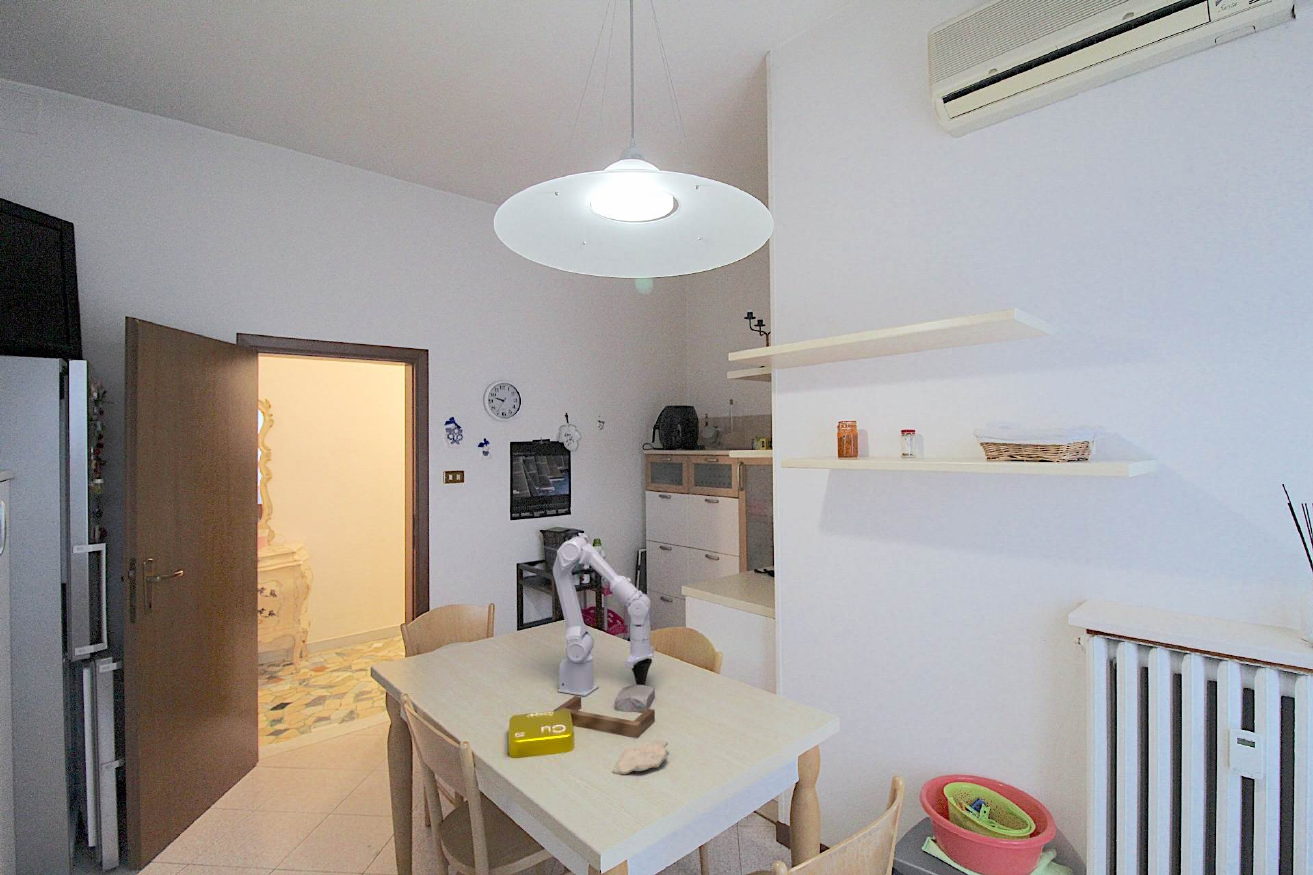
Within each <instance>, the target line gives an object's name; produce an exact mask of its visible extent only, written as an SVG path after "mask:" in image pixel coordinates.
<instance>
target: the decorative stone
mask: <svg viewBox="0 0 1313 875" xmlns="http://www.w3.org/2000/svg"><path fill="white" fill-rule="evenodd" d="M668 745H669V743H668V741H665V740H661V739H652V740H649V741H645V742H644V743H642V744H639V745H635V746H631V747H629V748H627V749H624V750H623V751H621V755H620V756H619V759H618V760H617V762H616V764H615V766H614V769H613V770H612V772H613V773H614V774H616V775H627V774H630V773H631V772H634V771H635V772H642V771H647V770H649V769H651V768H656V769H657V768H659V766H660V765H662V763H663V762H664V761H665V760H666V758H667V748H666V747H667V746H668Z"/></svg>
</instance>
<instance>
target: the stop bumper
mask: <svg viewBox="0 0 1313 875" xmlns="http://www.w3.org/2000/svg"><path fill="white" fill-rule="evenodd" d="M581 709H582V697H581V696H579V695H575V696H574V695H573V697H571V698H570V699H568V700H566V701H565V702H564V703H562V704H560V705H559V706H558V707H556V708H555V709H553V711H560V710H567V711H569V712H570V713H571V719H572V724H573V727H579V728H584V729H590V730H595V731H599V732H605V733H608V734H609V733H610V734H615V735H620V736H623V737H624V736H625V737H629V738H635V739H638V738H639V737H641V735H642V734H644V733H645V731H646V730H648V729H649V728H650V727H651V726H652V725H653V724H654V723H655V722H656V721H655V720H656V719H655V718H656V717H655V716H656V715H655V709H652V708H648V709H647V710H645V711H644V712H641V714H640V715H639V716H637V717H636V718H635V719H633V720H631V719H630V720H629V719H624V718H619V717H612V716H608V715H603V714H598V713H593V712H587V711H586V712H585V711H582V710H581Z"/></svg>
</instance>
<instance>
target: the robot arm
mask: <svg viewBox="0 0 1313 875" xmlns="http://www.w3.org/2000/svg"><path fill="white" fill-rule="evenodd" d="M577 563H578V564H581V565H588V566H590V567H591V568H593V570H595V571H596V572H597V573H598V575H600V576H601V577H602V578H603V579H604V580H605V581H606V582H607V583H608V584H609V591H610V592H611V593H612V594H613V595H614V596H615V598H617V599H618V600H619V601H620V603H622V604H623V605H624V606H625V607H627V613H628V615H629V617H630V618H629V619H630V622H629V641H630V642H629V644H630V646H629V647H630V648H629V649H630V650H629V651H630V653H629V654H628V658H627V660H625V668H626V669H630V670H631V671H632V673H633V676H634V680H635V683H636V684H635V685H644V686H646V682H647V677H648V673H649V670H650V667H651V665H652V663H653V659H652V658H654V656H655V646H653V645H651V622H650V612H649V611H650V608H651V600H650V598H649V597H648V594H645V593H643V592H642V590H639V589H637V587H636V586H635V585H634V584H633V583H632V582H631V581H632V579H631V578H630V577H626V576H625V575H619V574H617V573H616V572H615V571H614V569H613V568H612V567H611V566H610V565H609V564H608V562H606V560H605V559H604V558H603V557H602V555H600V553H599V552H598V551H597V550H596V549H595V548H594V546H593V545H592V544H590V542H589V543H588V541H587V540H586V538H584V537H582V536H573V537H572V538H571V539H569V540H566V541H565V542H563V543H562V544H561V546H560V547H559V548H558V549H557V551H556V557H555V560H554V563H553V565H552V566H553V567H552V574H553V578H554V582H555V586H556V591H557V594H558V598H559V602H560V606H561V610H562V615H563V619H564V623H565V627H566V634H565V642H566V647H565V655H566V657H563V658H562V659H561V662H560V664H559V666H558V667H559V668H558V669H559V670H558V673H559V674H558V675H559V679H558V680H559V682H558V684H559V689H557V692H558V693H559V692H560V693H563V694H564V693H565V694H571V695H575V696H580V697H581V696H582V697H586V696H587V697H588V695H589V694H591V693H592V692H594V691H595V690H597V689H598V688H600V685H599V684H594V656H593V654H592V650H593V648H594V646H595V640H594V639H595V638H594V637H593V636H592V635H591V633H590V631H589V628H588V626H587V625H586V623H584V619H583V618H584V617H583V614H582V610H581V607H580V602H579V598H578V594H577V589H576V587H575V581H574V578H573V577H574V576H573V574H572V570H573V569H574V568H575V566H576V565H577Z"/></svg>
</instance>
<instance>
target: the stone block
mask: <svg viewBox="0 0 1313 875" xmlns="http://www.w3.org/2000/svg"><path fill="white" fill-rule="evenodd" d="M655 690H656V689H655V686H649V685H645V686H644V685H637V684H633V685H628V686H625V687H623V688H622V689H621V690H620V691H619V692H618V693H617V695H616V697H615V698H614V701H613V703H614V708H615V709H616V712H623V713H643V712H644V711H645V710H647V709H650V707H651V704H652V703H653V701H654V699H655V695H656V694H655V693H656V692H655Z"/></svg>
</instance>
